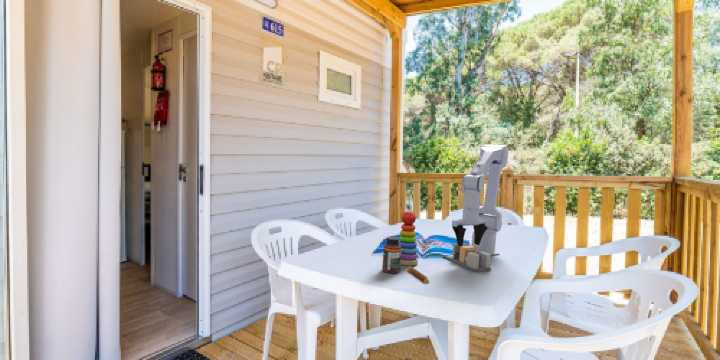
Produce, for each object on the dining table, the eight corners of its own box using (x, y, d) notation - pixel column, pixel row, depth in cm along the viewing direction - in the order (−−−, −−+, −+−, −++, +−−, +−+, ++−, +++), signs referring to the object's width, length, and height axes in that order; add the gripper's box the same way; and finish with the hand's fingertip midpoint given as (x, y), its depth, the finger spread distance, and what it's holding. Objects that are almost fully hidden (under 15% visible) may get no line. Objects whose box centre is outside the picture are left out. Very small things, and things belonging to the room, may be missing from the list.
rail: (442, 257, 151) (443, 243, 150) (457, 255, 154) (458, 242, 153) (474, 272, 134) (475, 256, 134) (490, 270, 137) (492, 255, 136)
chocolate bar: (422, 284, 120) (423, 277, 120) (405, 272, 131) (406, 265, 131) (430, 284, 121) (430, 277, 121) (412, 271, 132) (413, 265, 132)
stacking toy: (419, 261, 143) (423, 210, 142) (415, 267, 136) (418, 214, 134) (398, 258, 146) (401, 208, 144) (393, 264, 138) (396, 211, 137)
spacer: (475, 262, 143) (476, 247, 142) (463, 263, 141) (464, 248, 140) (471, 260, 145) (472, 245, 145) (459, 260, 143) (460, 246, 143)
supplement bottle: (380, 268, 133) (382, 235, 132) (398, 268, 133) (400, 235, 133) (383, 273, 127) (385, 239, 126) (401, 274, 128) (403, 240, 127)
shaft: (449, 255, 148) (450, 242, 148) (461, 254, 151) (462, 242, 150) (471, 265, 137) (472, 251, 137) (483, 264, 139) (484, 250, 139)
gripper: (461, 210, 135) (459, 249, 136) (494, 209, 141) (491, 246, 142) (449, 207, 141) (446, 244, 143) (481, 206, 147) (478, 241, 148)
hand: (468, 245), depth 143 cm, fingers open, 7 cm apart
